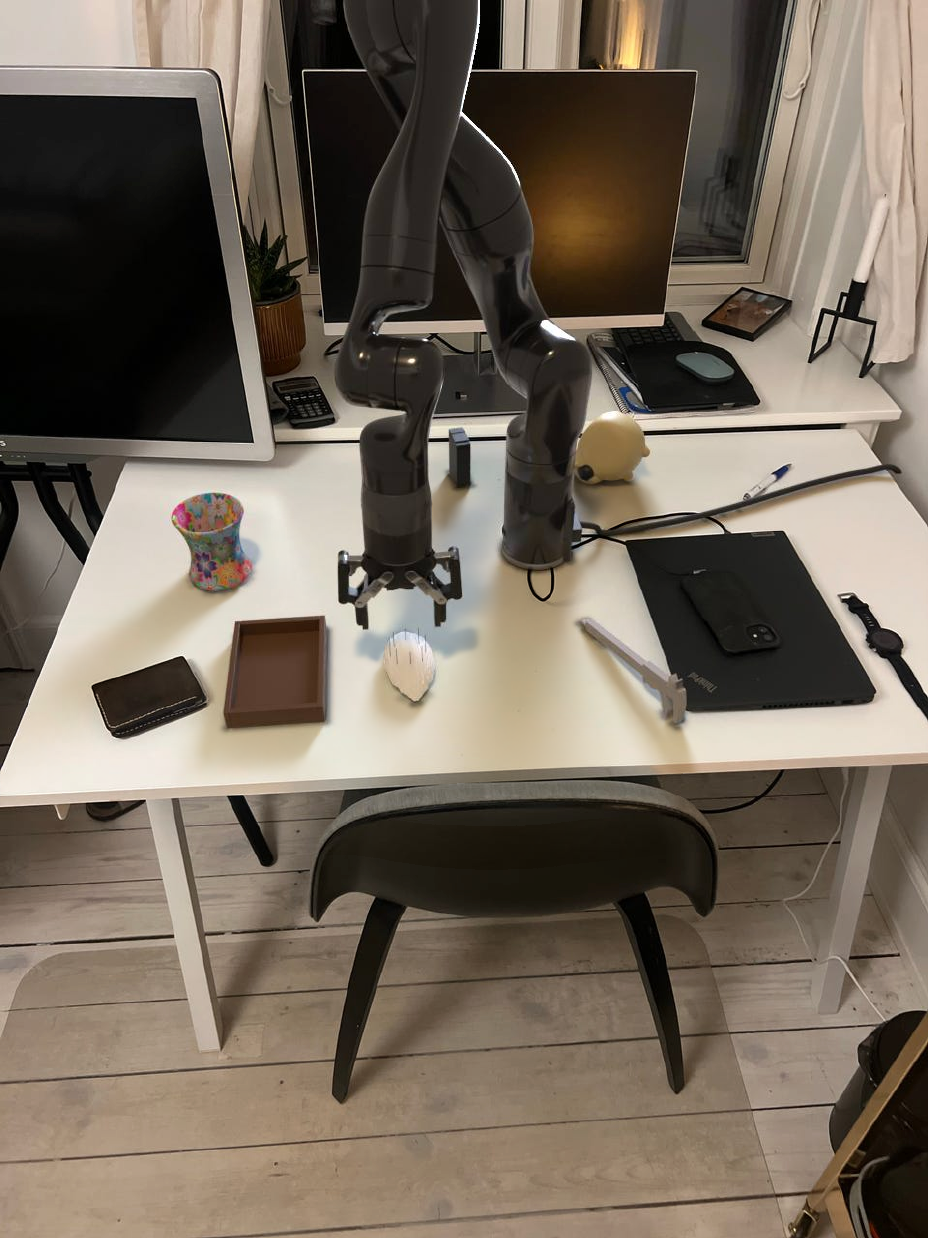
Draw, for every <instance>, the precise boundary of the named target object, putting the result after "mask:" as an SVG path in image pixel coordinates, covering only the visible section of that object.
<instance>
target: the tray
mask: <svg viewBox="0 0 928 1238" xmlns="http://www.w3.org/2000/svg"><path fill="white" fill-rule="evenodd" d="M326 621H327V619H326V615H309V616H295V617H293V616H292V617H279V618H278V617H277V618H264V619H263V618H262V619H248V620H247V619H245V620H235V621H234V625H233V633H232V641H231V648H230V655H229V665H228V672H227V682H226V687H225V697H224V703H223V711H222V714H223V719H224V722H225V726H226V729H237V728H251V727H264V726H279V725H292V724H293V725H294V724H305V723H306V724H308V723H321V722H322V723H323V722H326V701H327V700H326V697H327V695H326V694H327V693H326V691H327V651H328V650H327V644H328V643H327V640H328V635H327V634H328V627H327V622H326Z"/></svg>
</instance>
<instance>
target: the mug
mask: <svg viewBox="0 0 928 1238" xmlns="http://www.w3.org/2000/svg"><path fill="white" fill-rule="evenodd" d="M244 513H245V509H244V505H243V503H242V502H241V500H240V499H238V498H237V497H235V496H234V495H231V494H228V493H223V492H206V493H200V494H196V495H193V496H191V497H188V498H185V500H182V501H181V502H180V503H179V504H177V505H176V506H175V508H174V509H173V511H172V513H171V522H172V525H173V527H174V528H175V529H176V530H177V531H178V532H179V533H180V534H181V536H182V537H183V539H184V541H185V542H186V545H187V547H188V551H189V554H190V567H189V569H188V578H189V580H190V582H192V584H193V585H195V586H196V587H198V588H200V589H203V590H206V591H224V590H228V589H232V588H235V587H237V586H239V585H240V584H241V583H243V582H244V581H245V580H246V579H247V578H248V577H249V575H250V574H251V571H252V563H251V560H250V558H249V557H248V556H247V555H246V554H245V552H244V550H243V548H242V545H241V539H240V529H241V523H242V519H243V516H244Z"/></svg>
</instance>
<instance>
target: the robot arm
mask: <svg viewBox="0 0 928 1238" xmlns="http://www.w3.org/2000/svg"><path fill="white" fill-rule="evenodd" d="M343 11H344V18H345V22H346V25H347V30H348V32H349V35H350V38H351V41H352V44H353V47H354V49H355V52H356V53H357V55H358V58H359V59H360V61H361V64H362V67H363V68H364V69H365V72H366V73H367V75H368V77H369V79H370V81H371V82H372V84H373V86H374V88H375V90H376V91H377V94H378V95H379V97H380V98H381V101H382V102H383V104H384V106H385V107H386V109H387V111H388V113H389V115H390V116H391V118H392V120H393V122H394V124H395V126H396V127H397V129H398V131H399V133H398V136H397V138H396V140H395V142H394V144H393V146H392V148H391V150H390V152H389V154H388V156H387V158H386V160H385V161H384V163H383V165H382V167H381V169H380V171H379V173H378V176H377V177H376V179H375V182H374V184H373V186H372V188H371V191H370V194H369V198H368V200H367V203H366V208H365V212H364V218H363V227H362V238H361V239H362V240H361V255H360V271H359V272H360V273H359V280H358V287H357V291H356V296H355V300H354V304H353V307H352V310H351V311H352V312H351V314H350V318H349V320H348V324H347V327H346V329H345V332H344V335H343V338H342V340H341V343H340V345H339V349H338V352H337V355H336V358H335V364H334V382H335V386H336V389H337V391H338V393H339V395H340V397H341V398H342V400H344V402H346V404H348V405H350V406H353V407H357V408H365V409H378V410H384V411H385V410H387V411H395V412H405V413H403V414H397V415H391V416H385V417H382V418H381V417H380V418H378V419H374V420H373V421H370V422H369V423H367V424H366V425H365V426H364V427H363V429H362V430H361V432H360V435H359V441H358V442H359V443H358V444H359V459H360V473H361V475H360V476H361V488H360V509H361V519H362V534H363V546H364V549H363V553H362V554H361V555H350V553H349V552H348V551H347V550H343V549H342V550H339V552H338V553H337V597H338V598H337V601H338V603H339V604H341V605H346V604H352V605H353V606H354V614H355V622H356V625H357V626H358V627H359V626H360V627H362V630H363V631H367V630H368V631H369V627H370V625H369V621H370V620H369V607H368V602H369V601H371V599H372V598H373V599H374V598H375V597H376V596H377V595H378V594H379V593H380V592H381V591H382V589H386V591H395V590H396V591H397V590H408V591H410V590H415V588H416V587H417V588H418V589H419V590H420V591H421V592H422V593H424V594H425V596H427V597H428V596H429V597H430V598H431V599H432V600H433V620H434V621H433V622H434V628H441V625H442V623H446V621H447V602H449V601H450V600H452V599H453V600H455V601H459V600H461V599H462V598H463V586H462V585H463V584H462V570H461V569H462V568H461V560H460V559H461V557H460V550H459V548H458V547H457V546H450V547H449V548H448V549H447V551H441V552H435V550H434V548H433V533H432V532H433V530H432V529H433V524H432V521H433V520H432V505H433V502H432V492H431V485H430V479H429V441H430V432H431V427H432V423H433V418H434V414H435V412H436V408H437V406H438V402H439V400H440V396H441V393H442V390H443V385H444V383H445V382H444V381H445V377H446V362H445V359H444V356H443V353H442V352H441V350H440V348H439V347H438V346H437V344H436V343H434V341H432V340H430V339H427V338H423V337H418V336H417V337H416V336H406V335H405V336H404V335H395V334H382V333H380V330H381V327H382V325H383V323H384V322H386V320H387V319H388V318H389V317H390V316H392V315H394V314H395V315H396V314H398V313H404V312H406V313H407V312H413V311H419V310H422V309H425V308H427V307H428V306H429V305H430V304H431V302H432V299H433V295H434V287H435V274H436V262H437V252H438V251H437V250H438V240H439V238H438V237H439V226H441V228H442V231H443V234H444V236H445V238H446V240H447V243H448V245H449V246H450V250H451V251H452V253H453V255H454V258H455V259H456V261H457V264H458V265H459V269H460V270H461V273H462V275H463V277H464V280H465V281H466V284H467V287H468V288H469V291H470V292H471V294H472V297H473V298H474V300H475V302H476V304H477V306H478V307H477V308H478V310H479V312H480V314H481V318H482V321H483V324H484V328H485V331H486V335H487V337H488V341H489V344H490V348H491V353H492V355H493V358H494V361H495V365H496V368H497V370H498V372H499V374H500V376H501V378H502V379H503V380H504V381H505V383H506V384H507V385H508V386H509V387H510V388H511V389H513V390H514V391H516V393H518V394H519V395H521V396H522V397H523V398H525V399H526V411H525V413H521V414H519V415H517V416H515V417H514V418H513V419H511V421H509V423H508V425H507V427H506V434H505V458H504V459H505V461H504V463H505V465H504V466H505V467H504V493H503V494H504V495H503V522H502V534H501V535H502V542H501V552H502V555H503V557H504V558H505V559H506V561H508V562H509V563H511V564H512V565H514V566H516V567H519V568H521V569H525V570H531V571H543V570H548V569H552V568H555V567H557V566H559V565H560V564H562V563H564V562H570V561H571V558H572V557H571V556H572V547H573V543H581V542H582V536H583V529H586V530H587V529H589V530H593V531H595V533H596V535H599V536H601V537H615V536H623V535H630V534H634V533H639V532H643V531H648V530H653V529H658V528H665V527H670V526H675V525H680V524H684V523H689V522H693V521H697V520H702V519H706V518H710V517H714V516H718V515H722V514H725V513H728V512H732V511H734V510H739V509H742V508H746V507H749V506H753V505H755V504H759V503H761V502H765V501H768V500H771V499H774V498H777V497H781V496H784V495H787V494H790V493H795V492H798V491H801V490H805V489H808V488H811V487H815V486H818V485H823V484H828V483H831V482H835V481H839V480H843V479H847V478H852V477H859V476H864V475H869V474H870V475H871V474H874V473H877V472H883V471H892V472H893V473H894V474H897V475H901V474H902V470H901V469H900V468H899V466H897V465H895V464H893V463H884V464H878V465H875V466H871V467H870V466H869V467H865V468H860V469H859V468H858V469H854V470H853V469H852V470H847V471H844V472H839V473H834V474H831V475H827V476H823V477H820V478H819V477H818V478H814V479H811V480H807V481H805V482H800V483H797V484H794V485H791V486H788V487H783V488H780V489H777V490H774V491H771V492H767V493H764V494H761V495H758V496H754V497H751V498H748V499H745V500H742V501H737V502H735V503H730V504H728V505H724V506H720V507H717V508H713V509H709V510H705V511H701V512H697V513H693V514H688V515H683V516H678V517H673V518H668V519H663V520H658V521H652V522H647V523H646V522H645V523H642V524H638V525H633V526H629V527H624V528H618V529H602V527H601V526H600V525H599V524H598V523H595V522H590V521H581V520H580V518H579V515H578V511H577V508H576V503H575V500H574V496H573V492H574V479H575V473H574V469H575V458H576V450H577V447H578V442H579V439H580V437H581V435H582V432H583V430H584V427H585V425H586V419H587V413H588V407H589V401H590V394H591V387H592V380H593V360H592V355H591V352H590V350H589V349H588V346H587V345H585V343H583V342H582V341H581V340H580V339H578V338H577V337H575V336H573V334H571V333H569V332H568V331H566V330H564V329H563V328H561V327H560V326H558V325H557V324H555V323H554V322H553V321H552V320H551V318H550V317H549V316H548V314H547V313H546V310H545V309H544V307H543V305H542V303H541V301H540V298H539V296H538V294H537V291H536V289H535V287H534V283H533V279H532V276H531V265H532V259H533V252H534V244H535V231H534V230H535V229H534V226H533V225H534V224H533V220H532V215H531V213H530V210H529V209H530V208H529V206H528V203H527V200H526V198H525V195H524V192H523V189H522V185H521V183H520V179H519V178H518V175H517V173H516V171H515V169H514V167H513V165H512V164H511V162H510V160H509V159H508V158H507V156H505V155H504V154H503V152H502V151H501V150H500V149H499V147H497V146H496V145H495V144H494V142H493V141H492V140H491V139H490V138H489V137H488V136H486V134H485V133H484V132H483V131H482V130H481V129H480V128H478V127H477V126H476V125H475V124H474V123H473V122H472V121H471V120H470V119H469V118H468V117H467V116H466V115H465V114H464V113H463V112H462V110H463V105H464V100H465V95H466V91H467V87H468V82H469V78H470V73H471V70H472V65H473V60H474V55H475V50H476V46H477V45H476V44H477V39H478V33H479V26H480V25H479V24H480V0H343ZM437 565H440V566H441V567H442V569H443V570H444V571H445V572H446V573H449V579H450V582H449V583H445V584H444V583H443V582H442V580H440V578H439V577H437V575H436V573H435V571H434V569H435V568H436V566H437ZM359 568H361V569H362V571H364V573H365V574H364V576H363V579H362V580H361V581H360V582H359V584H357V586H355V587H352V586H350V577H353V575H354V574H356V572H357V569H359Z"/></svg>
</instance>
